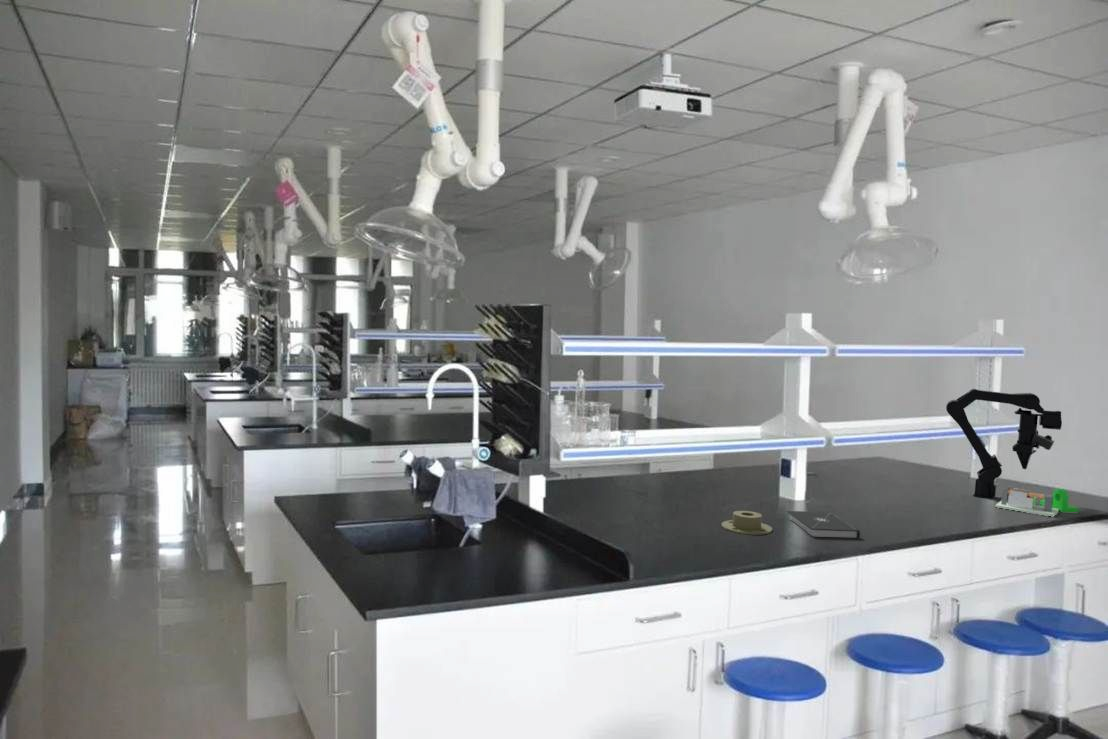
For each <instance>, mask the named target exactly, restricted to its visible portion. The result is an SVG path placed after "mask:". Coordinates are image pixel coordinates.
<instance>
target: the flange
mask: <svg viewBox="0 0 1108 739" xmlns="http://www.w3.org/2000/svg"><path fill="white" fill-rule="evenodd" d="M762 516H763V515H762V514H761V513H759V512H756V511H750V510H748V511H747V510H736V511H735V510H734V511H733V513H732V519H729V520H725V521H722V522H721V528H723V530H724V529H725V530H726V531H729V532H732V533H736V534H741V535H742V534H743V535H749V536H750V535H751V536H758V535H759V536H761V535H767V534H770V533H772V532H773V527H772V526H770V525H768V524H766V523H763V522H762V520H763V519H762Z"/></svg>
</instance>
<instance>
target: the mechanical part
mask: <svg viewBox="0 0 1108 739" xmlns="http://www.w3.org/2000/svg"><path fill="white" fill-rule="evenodd" d="M1052 496H1053V507H1052V508H1057V509H1059V511H1060V512H1059V513H1061V512H1078V513H1079V508H1078V507H1076V506H1073V505H1071V504H1069V499H1070V498H1069V493H1068V492H1067V490H1066V489H1064V488H1056V489H1054V491H1053V492H1052ZM1039 504H1041V505H1040V506H1042V505H1043V506H1044V504H1045V499H1040V502H1039Z"/></svg>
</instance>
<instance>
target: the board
mask: <svg viewBox="0 0 1108 739" xmlns="http://www.w3.org/2000/svg"><path fill="white" fill-rule="evenodd" d="M995 507H997V508H996V509H999V508H1003V509H1002V510H1005V509H1009V510H1008V511H1011V510H1015V511H1014V512H1017V511H1021V512H1020V513H1023V512H1026V513H1025V514H1029V513H1031V515H1036V514H1038V515H1037V516H1042V515H1044V516H1043V517H1048V516H1051V517H1050V518H1055V517H1056V516H1057V515H1058V513H1060V512H1059V509H1057V508H1052V511H1051V512H1049V511H1044V506H1042V505H1036V504H1035V507H1034V508H1033V509H1032V510H1031V509H1025V508H1019V507H1012V506H1008V503H1007V505H1004V504H1001V500H1000V501H998V502H997V503H996V504H995ZM1055 515H1056V516H1055ZM1054 516H1055V517H1054Z"/></svg>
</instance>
